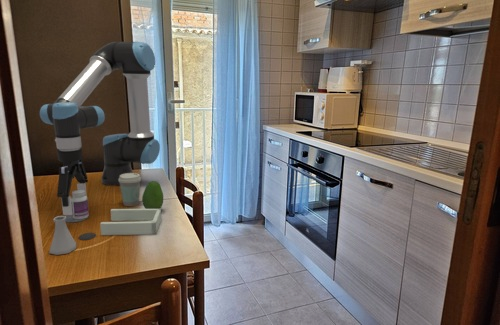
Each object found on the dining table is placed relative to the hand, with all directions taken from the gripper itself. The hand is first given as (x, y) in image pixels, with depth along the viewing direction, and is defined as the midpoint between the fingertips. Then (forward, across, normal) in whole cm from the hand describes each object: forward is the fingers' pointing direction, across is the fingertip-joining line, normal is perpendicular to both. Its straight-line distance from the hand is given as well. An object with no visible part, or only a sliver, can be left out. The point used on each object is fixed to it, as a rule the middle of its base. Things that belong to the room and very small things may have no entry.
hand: (75, 206), depth 118 cm
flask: (+4, +23, +5) cm, 24 cm away
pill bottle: (+4, 0, +2) cm, 4 cm away
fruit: (+5, -6, +26) cm, 27 cm away
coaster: (+4, 0, 0) cm, 4 cm away
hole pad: (+4, +15, +9) cm, 18 cm away
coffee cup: (+5, -14, +16) cm, 21 cm away
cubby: (+4, +8, +21) cm, 23 cm away
